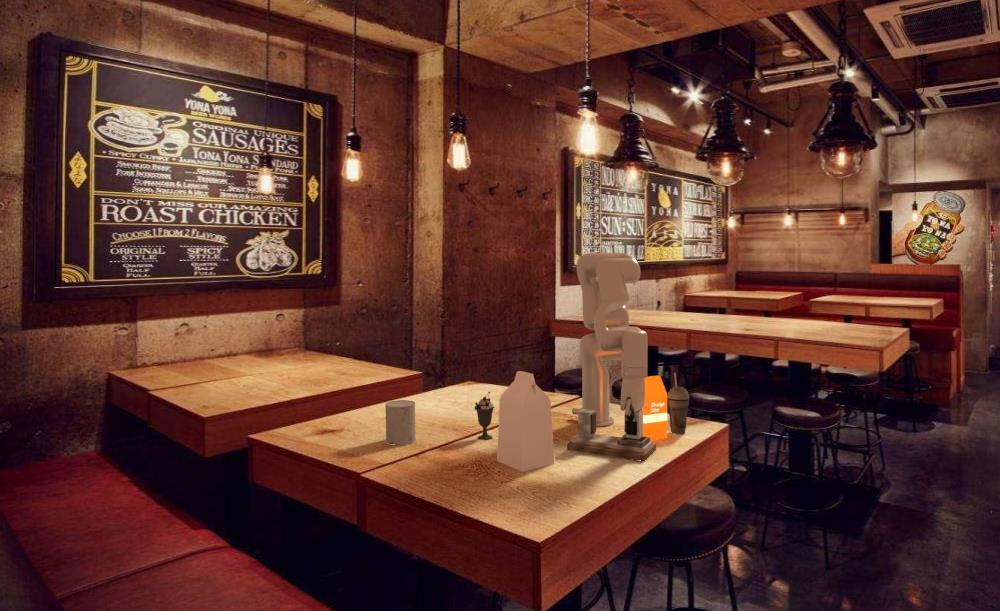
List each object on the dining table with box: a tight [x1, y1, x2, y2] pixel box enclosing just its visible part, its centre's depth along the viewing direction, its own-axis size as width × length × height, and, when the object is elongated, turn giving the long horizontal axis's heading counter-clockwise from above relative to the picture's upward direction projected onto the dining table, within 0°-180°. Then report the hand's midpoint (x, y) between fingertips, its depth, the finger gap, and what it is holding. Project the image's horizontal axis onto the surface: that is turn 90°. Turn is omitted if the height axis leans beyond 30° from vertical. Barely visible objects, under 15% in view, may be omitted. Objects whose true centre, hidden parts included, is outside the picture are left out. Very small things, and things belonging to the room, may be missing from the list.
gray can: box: [384, 399, 417, 446], centre depth 204 cm, size 10×10×12 cm
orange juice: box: [642, 375, 668, 442], centre depth 205 cm, size 8×9×20 cm
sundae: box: [474, 391, 496, 441], centre depth 207 cm, size 7×7×15 cm
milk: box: [496, 370, 555, 473], centre depth 181 cm, size 12×12×26 cm
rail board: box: [566, 409, 657, 462], centre depth 192 cm, size 24×12×11 cm, turn 61°
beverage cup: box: [667, 372, 690, 435], centre depth 211 cm, size 7×7×20 cm
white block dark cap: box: [624, 409, 643, 439], centre depth 189 cm, size 4×4×8 cm
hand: (633, 432), depth 189 cm, fingers closed on white block dark cap, 4 cm apart
